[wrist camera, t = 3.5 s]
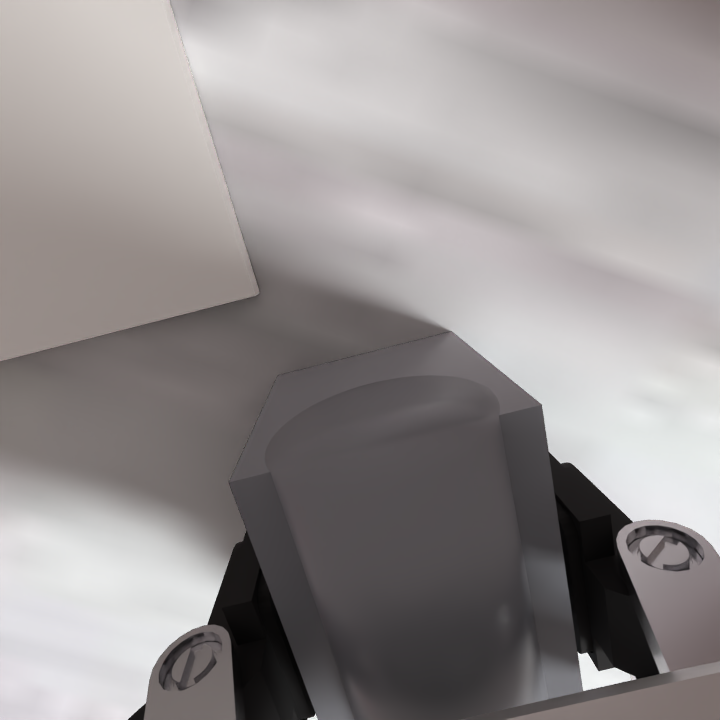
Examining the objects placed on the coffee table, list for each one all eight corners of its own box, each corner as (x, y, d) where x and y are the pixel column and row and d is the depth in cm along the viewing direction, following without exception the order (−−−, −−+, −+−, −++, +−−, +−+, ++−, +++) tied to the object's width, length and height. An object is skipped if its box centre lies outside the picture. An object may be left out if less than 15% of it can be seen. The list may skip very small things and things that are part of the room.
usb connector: (451, 330, 11) (580, 436, 5) (512, 646, 13) (643, 951, 8) (278, 374, 11) (207, 528, 5) (374, 678, 14) (400, 1004, 8)
